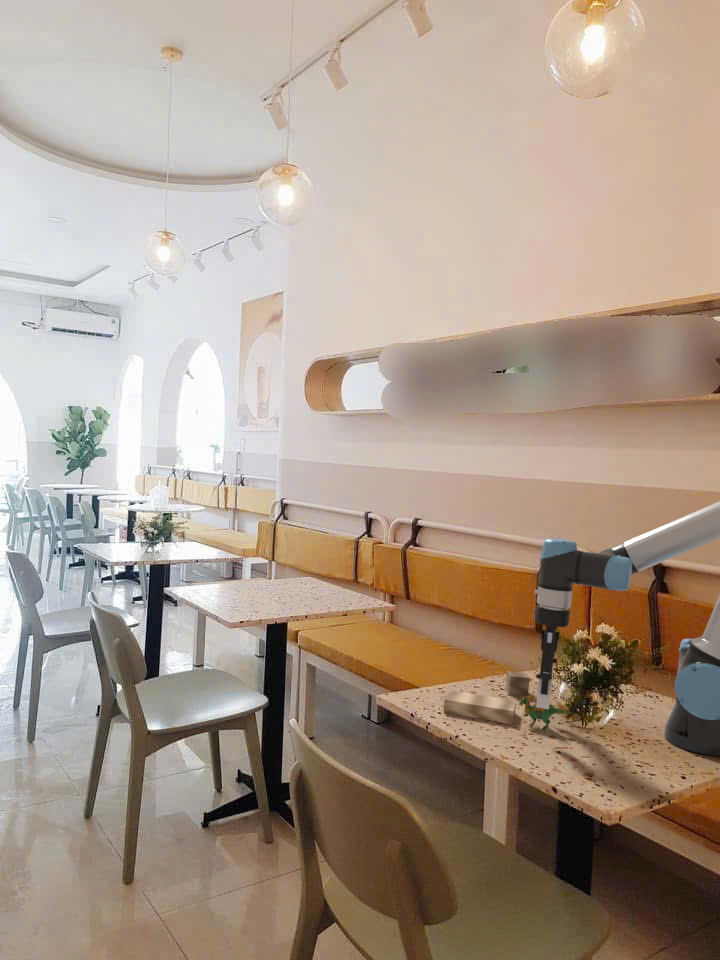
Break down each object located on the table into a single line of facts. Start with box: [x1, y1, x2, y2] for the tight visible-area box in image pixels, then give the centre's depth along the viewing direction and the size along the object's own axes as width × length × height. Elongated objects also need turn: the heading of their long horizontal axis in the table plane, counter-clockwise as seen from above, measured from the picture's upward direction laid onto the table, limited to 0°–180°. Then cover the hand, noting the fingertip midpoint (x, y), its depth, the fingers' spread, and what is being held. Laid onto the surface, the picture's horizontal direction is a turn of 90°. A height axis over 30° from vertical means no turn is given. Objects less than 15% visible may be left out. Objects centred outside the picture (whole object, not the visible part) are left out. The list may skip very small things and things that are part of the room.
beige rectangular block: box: [443, 689, 517, 725], centre depth 169 cm, size 16×8×3 cm, turn 73°
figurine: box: [518, 694, 573, 731], centre depth 161 cm, size 3×12×8 cm, turn 66°
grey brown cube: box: [505, 670, 530, 697], centre depth 187 cm, size 5×5×5 cm
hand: (543, 698), depth 162 cm, fingers open, 13 cm apart
